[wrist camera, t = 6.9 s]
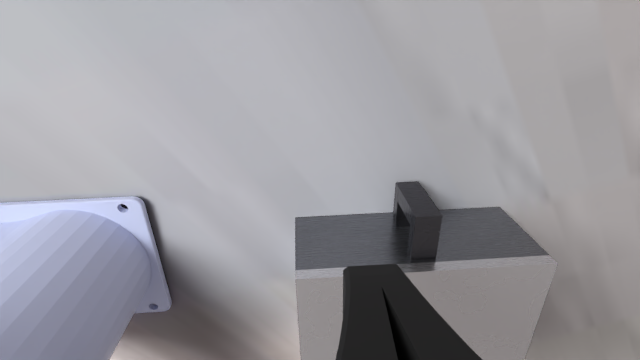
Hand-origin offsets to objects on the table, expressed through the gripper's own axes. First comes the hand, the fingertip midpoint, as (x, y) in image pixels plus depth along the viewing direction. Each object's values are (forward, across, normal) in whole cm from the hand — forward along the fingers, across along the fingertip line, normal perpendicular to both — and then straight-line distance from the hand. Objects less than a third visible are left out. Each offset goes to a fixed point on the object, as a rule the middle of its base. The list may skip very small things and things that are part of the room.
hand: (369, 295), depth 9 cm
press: (+10, -4, +9) cm, 14 cm away
